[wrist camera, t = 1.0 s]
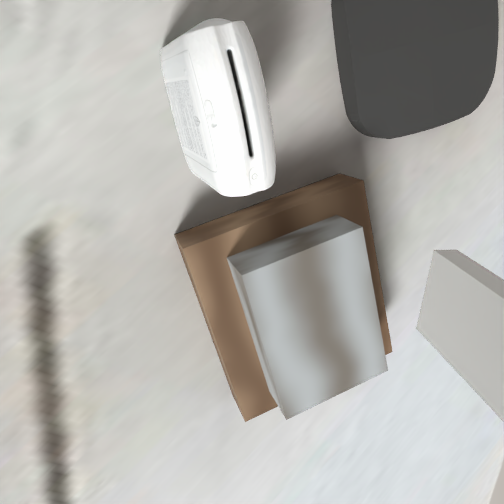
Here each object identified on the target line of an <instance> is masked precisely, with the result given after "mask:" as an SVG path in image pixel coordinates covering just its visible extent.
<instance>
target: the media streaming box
mask: <svg viewBox="0 0 504 504" xmlns="http://www.w3.org/2000/svg"><path fill="white" fill-rule="evenodd" d="M331 7H332V18H333V28H334V38H335V46H336V54H337V62H338V69H339V75H340V82H341V88H342V93H343V99H344V104H345V109H346V114H347V116H348V118H349V120H350V122H351V124H352V125H353V126H354V127H355V128H356V129H357V130H358V131H359V132H361V133H362V134H364V135H367V136H371V137H378V138H386V139H392V138H397V137H402V136H406V135H410V134H414V133H418V132H422V131H425V130H429V129H432V128H435V127H438V126H441V125H444V124H447V123H450V122H452V121H455V120H457V119H460V118H462V117H464V116H466V115H469V114H470V113H472V112H473V111H474V110H475V109H476V108H477V107H478V106H479V105H480V104H481V102H482V101H483V99H484V98H485V96H486V94H487V93H488V91H489V88H490V86H491V84H492V81H493V78H494V74H495V67H496V59H497V47H498V0H332V3H331Z"/></svg>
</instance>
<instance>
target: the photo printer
mask: <svg viewBox="0 0 504 504" xmlns="http://www.w3.org/2000/svg"><path fill="white" fill-rule="evenodd" d="M160 57H161V67H162V72H163V77H164V81H165V86H166V90H167V94H168V98H169V102H170V106H171V110H172V114H173V117H174V121H175V125H176V129H177V133H178V136H179V140H180V143H181V146H182V150H183V153H184V156H185V159H186V162H187V164H188V166H189V168H190V170H191V172H192V173H193V174H195V175H196V176H197V177H199V178H200V179H201V180H203V181H204V182H205V183H207V184H208V185H209V186H211V187H212V188H213V189H215V190H216V191H217V192H218V193H219V194H221V195H223V196H229V197H238V196H247V195H250V194H253V193H255V192H257V191H262V190H266V189H268V188H269V187H271V186H272V185H273V184H274V181H275V172H276V153H275V142H274V133H273V126H272V119H271V113H270V108H269V102H268V97H267V92H266V87H265V82H264V78H263V74H262V69H261V65H260V61H259V58H258V54H257V51H256V48H255V45H254V42H253V39H252V36H251V34H250V32H249V30H248V28H247V26H246V24H245V22H244V21H233V22H231V21H229V20H227V19H222V18H212V19H208V20H205V21H203V22H201V23H199V24H197V25H196V26H194V27H193V28H191V29H190V30H188V31H187V32H185V33H184V34H182V35H180V36H179V37H177V38H176V39H174V40H173V41H171V42H170V43H169V44H168V45H166V46H164V47H163V48H161V50H160Z"/></svg>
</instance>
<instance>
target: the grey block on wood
mask: <svg viewBox="0 0 504 504" xmlns="http://www.w3.org/2000/svg"><path fill="white" fill-rule="evenodd" d="M175 238H176V241H177V244H178V246H179V249H180V252H181V254H182V257H183V260H184V263H185V265H186V268H187V271H188V274H189V276H190V279H191V282H192V285H193V287H194V290H195V293H196V296H197V298H198V301H199V304H200V307H201V309H202V312H203V315H204V318H205V320H206V323H207V326H208V329H209V331H210V334H211V337H212V339H213V342H214V345H215V348H216V350H217V353H218V356H219V359H220V361H221V364H222V367H223V370H224V372H225V375H226V378H227V381H228V383H229V386H230V389H231V392H232V394H233V397H234V399H235V401H236V403H237V405H238V407H239V409H240V412H241V414H242V416H243V418H244V420H245V422H246V421H248V420H250V419H252V418H254V417H257V416H259V415H261V414H263V413H265V412H267V411H269V410H271V409H273V408H275V407H277V406H279V408H280V410H281V411H282V413H283V415H284V416H285V418H286V420H287V419H289V418H291V417H293V416H295V415H297V414H299V413H301V412H303V411H306V410H308V409H310V408H312V407H314V406H316V405H318V404H320V403H322V402H324V401H326V400H328V399H330V398H332V397H334V396H336V395H338V394H340V393H343V392H345V391H347V390H349V389H351V388H353V387H355V386H357V385H359V384H361V383H363V382H365V381H367V380H369V379H371V378H373V377H375V376H377V375H380V374H382V373H384V372H386V371H388V367H387V362H386V356H385V355H386V354H389V353H391V352H392V346H391V340H390V335H389V329H388V323H387V317H386V311H385V305H384V299H383V293H382V287H381V281H380V275H379V269H378V263H377V257H376V251H375V246H374V240H373V234H372V228H371V222H370V216H369V210H368V204H367V198H366V192H365V186H364V181H363V180H360V179H357V178H353V177H350V176H346V175H343V174H337V175H334V176H332V177H329V178H326V179H323V180H321V181H318V182H315V183H313V184H310V185H307V186H304V187H302V188H299V189H296V190H294V191H291V192H288V193H286V194H283V195H280V196H277V197H275V198H272V199H269V200H267V201H264V202H261V203H258V204H256V205H253V206H250V207H248V208H245V209H242V210H240V211H237V212H234V213H231V214H229V215H226V216H223V217H221V218H218V219H215V220H212V221H210V222H207V223H204V224H202V225H199V226H196V227H194V228H191V229H188V230H185V231H183V232H180V233H177V234H175Z"/></svg>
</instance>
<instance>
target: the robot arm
mask: <svg viewBox="0 0 504 504" xmlns="http://www.w3.org/2000/svg"><path fill="white" fill-rule="evenodd" d="M416 329H417V330H418V331H419V332H420V333H421V334H422V335H423V336H424V337H425V338H426V340H427V341H428V342H429V343H430V344H431V345H432V346H433V347H434V348H435V349H436V350H437V351H438V352H439V353H440V354H441V356H442V357H443V358H444V359H445V360H446V361H447V362H448V363H449V364H450V365H451V366H452V367H453V368H454V369H455V371H456V372H457V373H458V374H459V375H460V376H461V377H462V378H463V379H464V380H465V381H466V382H467V383H468V384H469V385H470V387H471V388H472V389H473V390H474V391H475V392H476V393H477V394H478V395H479V396H480V397H481V398H482V399H483V400H484V401H485V403H486V404H487V405H488V406H489V407H490V408H491V409H492V410H493V411H494V412H495V413H496V414H497V415H498V416H499V417H500V419H501V420H502V421H503V422H504V280H503V279H502V278H500V277H498V276H497V275H495V274H494V273H492V272H491V271H489V270H488V269H486V268H484V267H483V266H481V265H480V264H478V263H477V262H475V261H473V260H472V259H470V258H469V257H467V256H466V255H464V254H463V253H461V252H459V251H458V250H434V252H433V256H432V260H431V265H430V269H429V274H428V278H427V283H426V287H425V291H424V296H423V300H422V305H421V309H420V314H419V318H418V322H417V327H416Z"/></svg>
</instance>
